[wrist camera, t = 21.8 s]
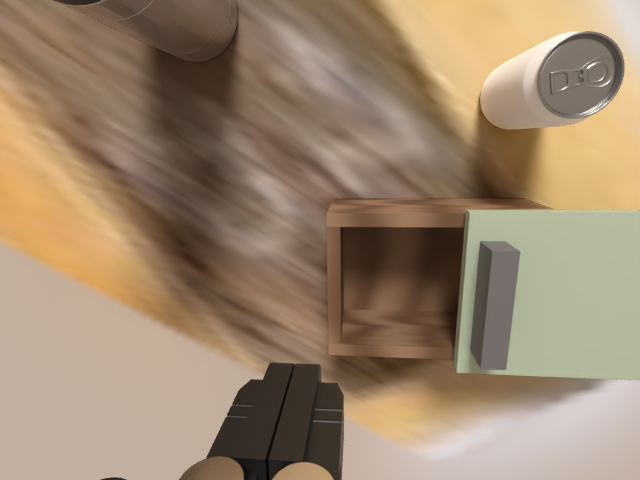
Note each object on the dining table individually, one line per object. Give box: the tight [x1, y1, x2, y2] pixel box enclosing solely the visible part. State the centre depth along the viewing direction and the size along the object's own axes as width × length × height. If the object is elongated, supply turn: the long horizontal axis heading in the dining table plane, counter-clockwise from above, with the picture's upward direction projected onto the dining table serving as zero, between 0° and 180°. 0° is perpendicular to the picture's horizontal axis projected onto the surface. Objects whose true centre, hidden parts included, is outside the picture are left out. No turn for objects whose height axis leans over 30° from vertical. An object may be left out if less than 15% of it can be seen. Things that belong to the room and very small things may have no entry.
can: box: [480, 31, 624, 130], centre depth 32 cm, size 6×6×12 cm
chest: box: [327, 198, 555, 360], centre depth 38 cm, size 20×14×9 cm
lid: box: [453, 210, 640, 381], centre depth 31 cm, size 20×15×4 cm
